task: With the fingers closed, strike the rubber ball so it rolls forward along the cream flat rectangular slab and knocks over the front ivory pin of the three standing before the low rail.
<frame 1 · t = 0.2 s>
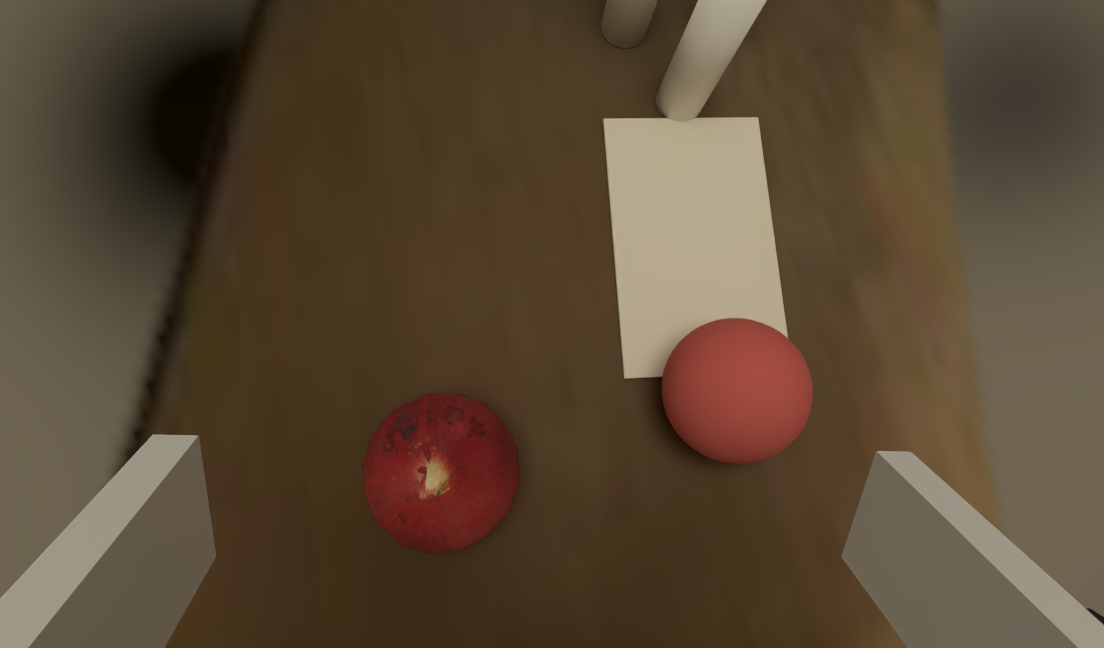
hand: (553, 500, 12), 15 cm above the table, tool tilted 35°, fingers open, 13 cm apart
onion: (450, 467, 27), on the table
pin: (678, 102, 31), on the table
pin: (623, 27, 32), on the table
ball: (734, 390, 26), on the table
cream flat rectangular slab: (693, 242, 30), on the table
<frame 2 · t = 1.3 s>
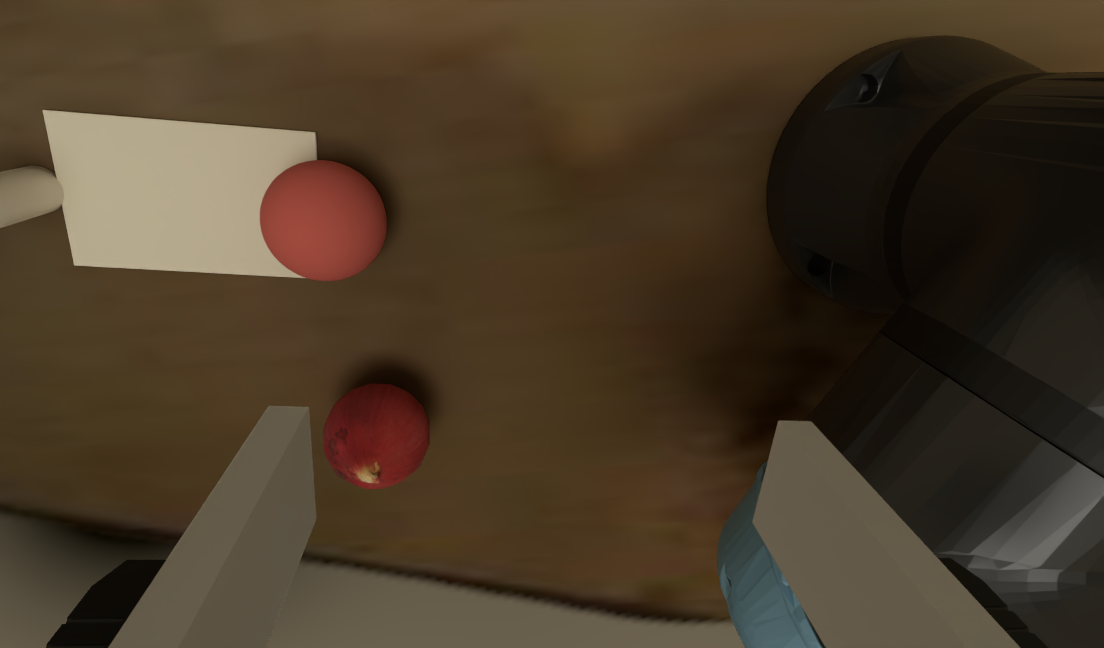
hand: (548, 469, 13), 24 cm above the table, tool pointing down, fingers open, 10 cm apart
onion: (387, 401, 39), on the table
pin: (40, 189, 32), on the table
ball: (325, 221, 31), on the table
cream flat rectangular slab: (193, 199, 33), on the table
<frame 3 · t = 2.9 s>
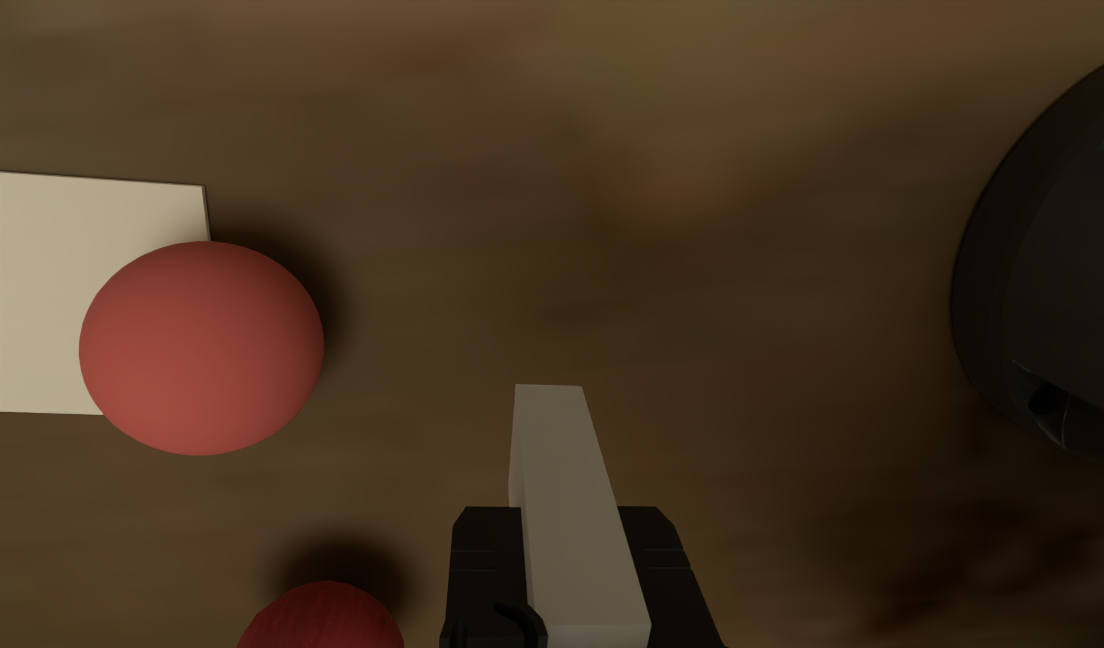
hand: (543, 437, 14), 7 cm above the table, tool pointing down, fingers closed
onion: (343, 587, 25), on the table
ball: (211, 347, 17), on the table
cream flat rectangular slab: (2, 298, 19), on the table
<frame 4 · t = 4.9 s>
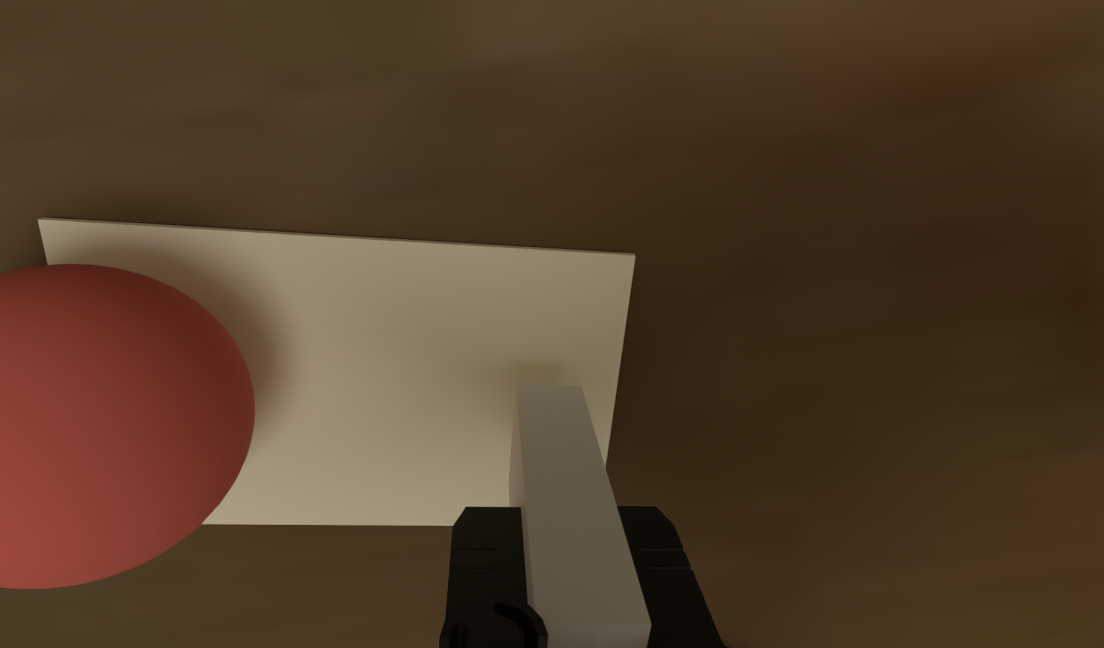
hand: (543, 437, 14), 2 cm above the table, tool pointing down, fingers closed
ball: (82, 419, 12), on the table
cream flat rectangular slab: (360, 391, 15), on the table
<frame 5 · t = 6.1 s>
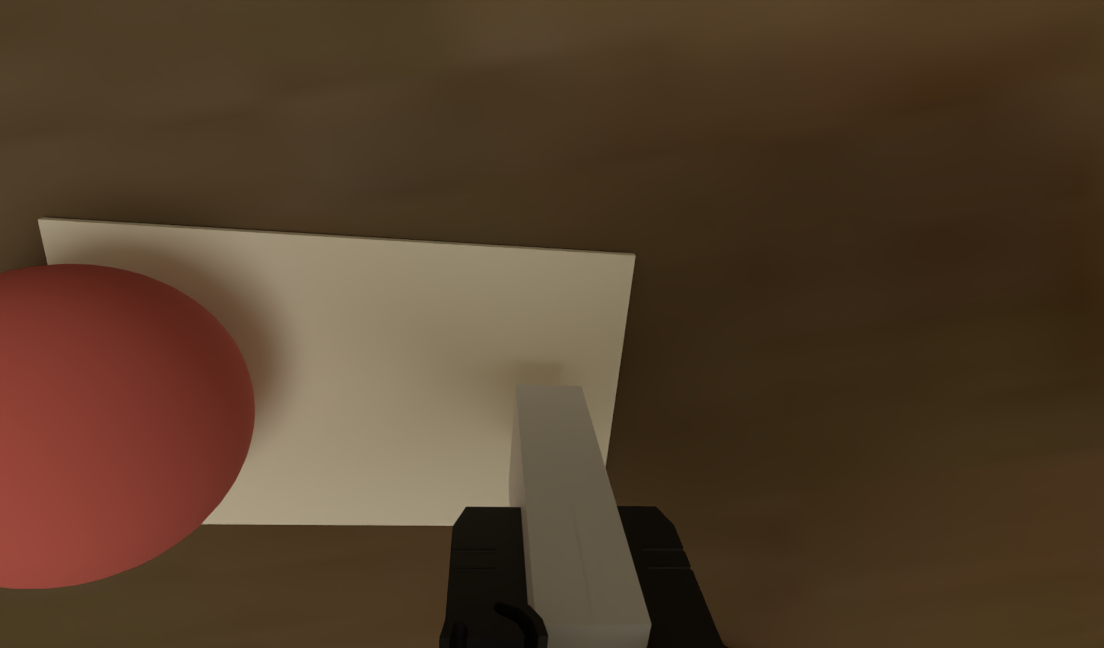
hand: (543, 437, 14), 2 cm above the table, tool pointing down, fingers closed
ball: (82, 419, 12), on the table
cream flat rectangular slab: (360, 391, 15), on the table
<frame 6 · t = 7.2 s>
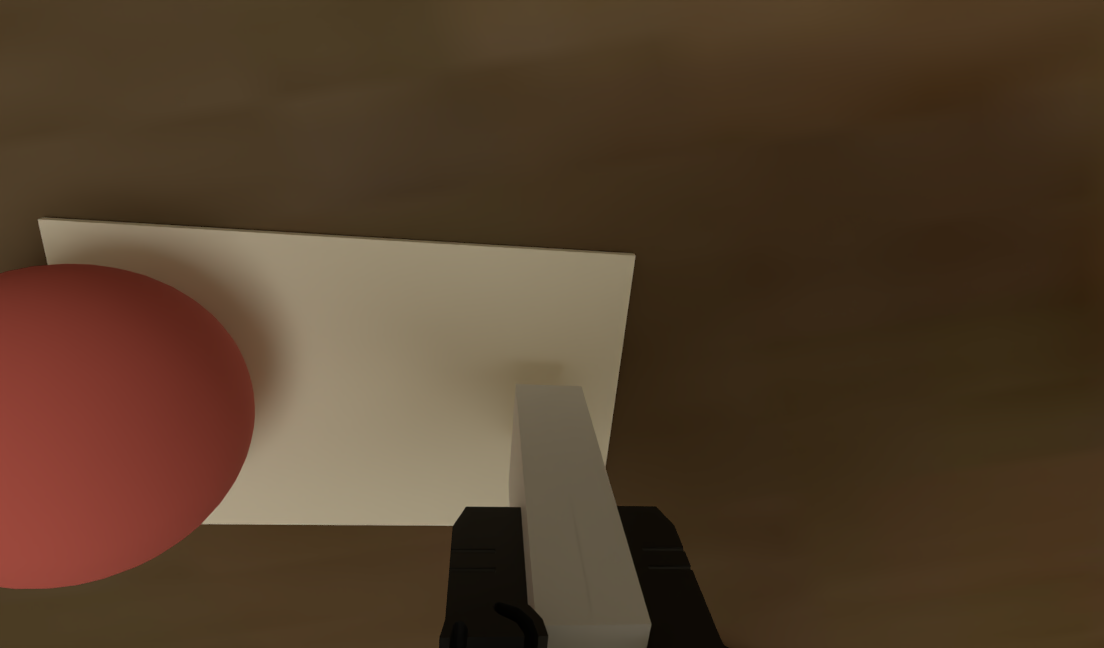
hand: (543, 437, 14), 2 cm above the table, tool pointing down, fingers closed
ball: (82, 419, 12), on the table
cream flat rectangular slab: (360, 391, 15), on the table
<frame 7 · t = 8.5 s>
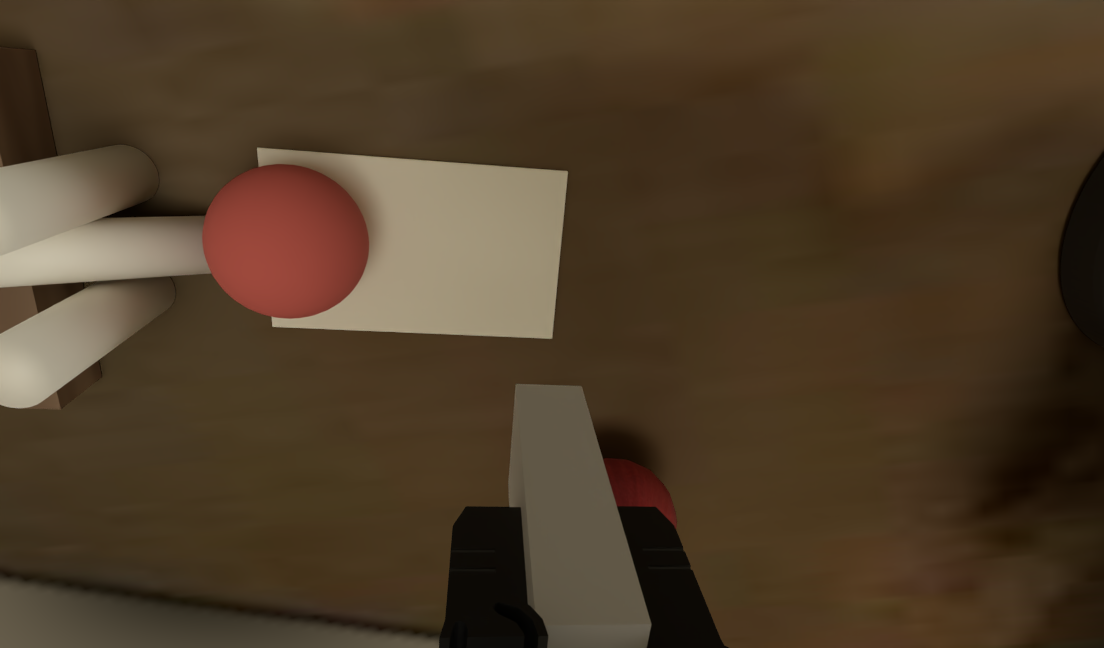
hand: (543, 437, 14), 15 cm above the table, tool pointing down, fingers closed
onion: (601, 472, 34), on the table
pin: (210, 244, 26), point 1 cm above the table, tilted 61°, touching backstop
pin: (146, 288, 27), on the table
ball: (289, 242, 24), on the table
cream flat rectangular slab: (417, 249, 28), on the table
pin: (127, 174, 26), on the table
backstop: (51, 228, 26), on the table
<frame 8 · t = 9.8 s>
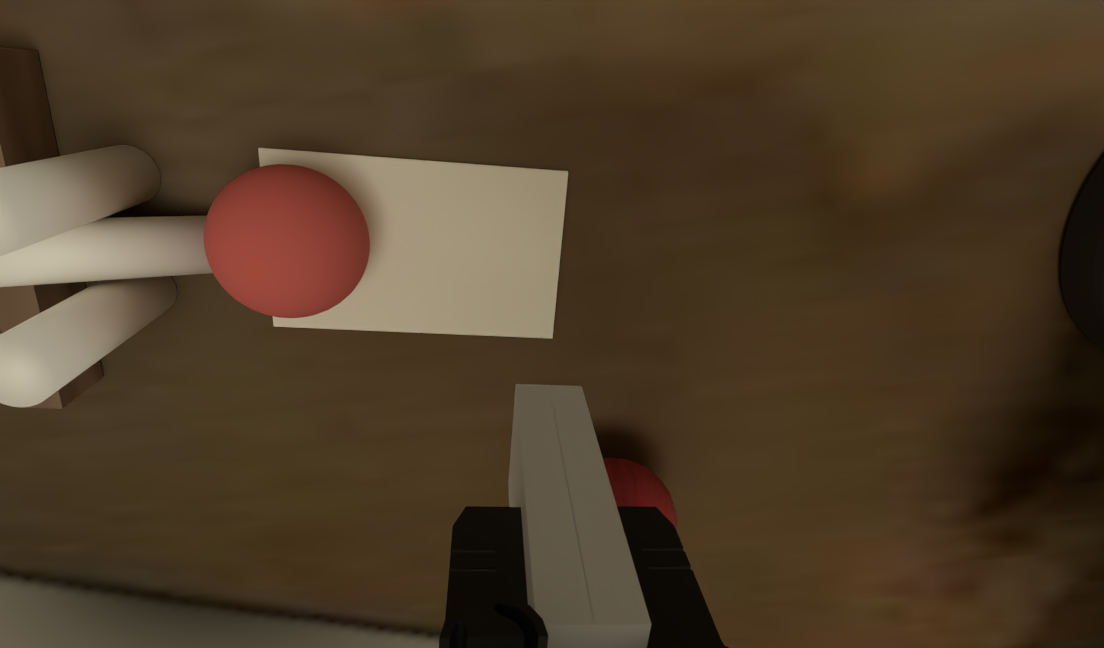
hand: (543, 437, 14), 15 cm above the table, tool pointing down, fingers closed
onion: (602, 471, 34), on the table
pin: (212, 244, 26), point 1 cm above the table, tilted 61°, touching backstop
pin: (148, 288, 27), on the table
ball: (290, 242, 24), on the table
cream flat rectangular slab: (417, 249, 28), on the table
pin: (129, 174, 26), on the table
backstop: (53, 228, 26), on the table
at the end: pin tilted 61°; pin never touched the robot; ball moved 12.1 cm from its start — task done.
